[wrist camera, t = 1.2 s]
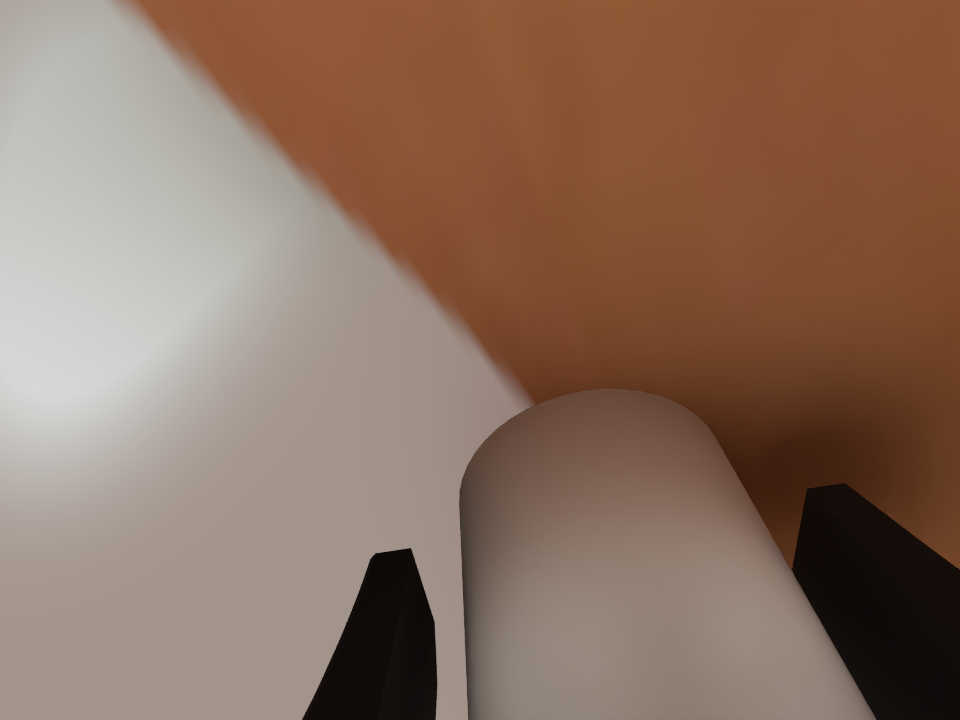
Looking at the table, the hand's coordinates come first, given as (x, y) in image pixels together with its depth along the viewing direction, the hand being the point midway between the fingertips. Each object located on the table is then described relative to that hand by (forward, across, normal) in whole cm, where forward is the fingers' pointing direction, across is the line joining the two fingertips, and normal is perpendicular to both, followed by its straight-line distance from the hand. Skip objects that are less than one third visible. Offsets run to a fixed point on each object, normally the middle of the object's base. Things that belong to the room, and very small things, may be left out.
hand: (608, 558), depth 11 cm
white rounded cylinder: (+2, 0, 0) cm, 2 cm away
